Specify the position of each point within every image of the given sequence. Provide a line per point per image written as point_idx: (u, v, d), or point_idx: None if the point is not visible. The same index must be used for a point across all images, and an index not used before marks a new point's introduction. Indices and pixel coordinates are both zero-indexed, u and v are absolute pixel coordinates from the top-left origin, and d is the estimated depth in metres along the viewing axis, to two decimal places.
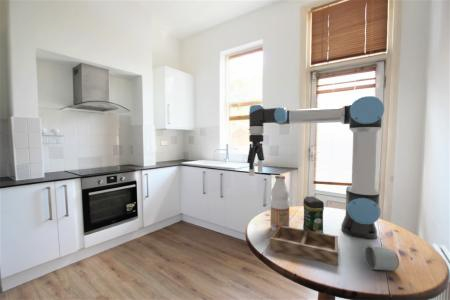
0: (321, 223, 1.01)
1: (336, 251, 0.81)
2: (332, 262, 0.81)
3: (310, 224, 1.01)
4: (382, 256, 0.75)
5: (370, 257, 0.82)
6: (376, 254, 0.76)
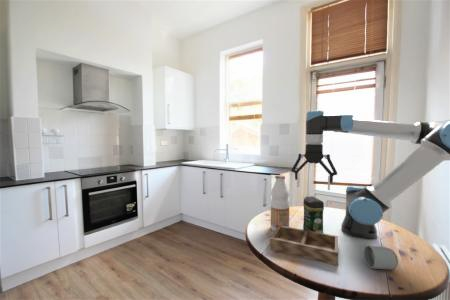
0: (321, 223, 1.01)
1: (336, 251, 0.81)
2: (332, 262, 0.81)
3: (310, 224, 1.01)
4: (381, 255, 0.76)
5: (369, 256, 0.82)
6: (375, 253, 0.76)
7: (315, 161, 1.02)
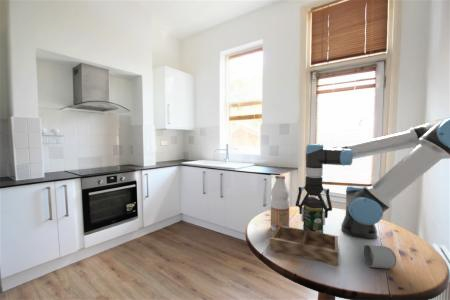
0: (321, 223, 1.01)
1: (336, 251, 0.81)
2: (332, 262, 0.81)
3: (310, 224, 1.01)
4: (379, 254, 0.77)
5: (368, 255, 0.83)
6: (374, 252, 0.77)
7: (315, 194, 1.02)
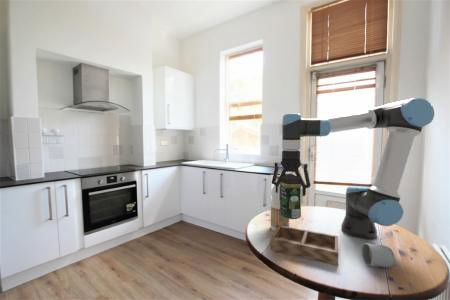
0: (298, 201, 0.91)
1: (336, 251, 0.81)
2: (332, 262, 0.81)
3: (286, 203, 0.91)
4: (378, 253, 0.77)
5: (367, 254, 0.84)
6: (372, 251, 0.78)
7: (292, 169, 0.92)
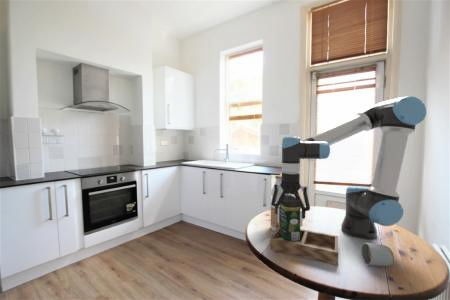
0: (298, 224, 0.91)
1: (336, 251, 0.81)
2: (332, 262, 0.81)
3: (286, 225, 0.91)
4: (377, 252, 0.78)
5: (366, 254, 0.84)
6: (371, 250, 0.78)
7: (291, 192, 0.93)
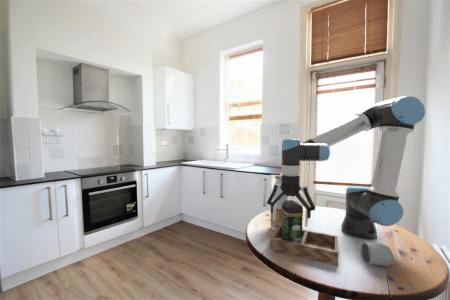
0: (300, 230, 0.91)
1: (336, 251, 0.81)
2: (332, 262, 0.81)
3: (288, 231, 0.91)
4: (376, 252, 0.78)
5: (365, 253, 0.85)
6: (371, 250, 0.79)
7: (291, 194, 0.93)
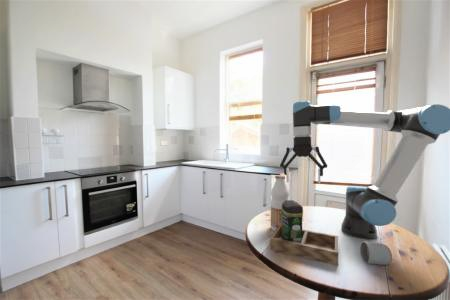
0: (300, 230, 0.91)
1: (336, 251, 0.81)
2: (332, 262, 0.81)
3: (288, 231, 0.91)
4: (375, 251, 0.79)
5: (365, 252, 0.85)
6: (370, 249, 0.79)
7: (304, 154, 0.97)
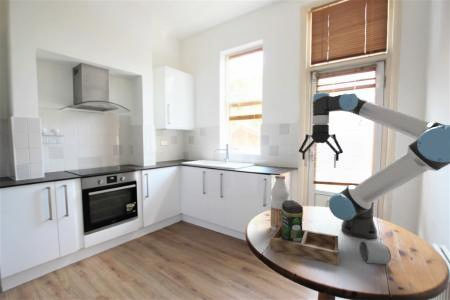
0: (300, 230, 0.91)
1: (336, 251, 0.81)
2: (332, 262, 0.81)
3: (288, 231, 0.91)
4: (374, 250, 0.79)
5: (364, 252, 0.86)
6: (369, 248, 0.80)
7: (322, 141, 1.07)
